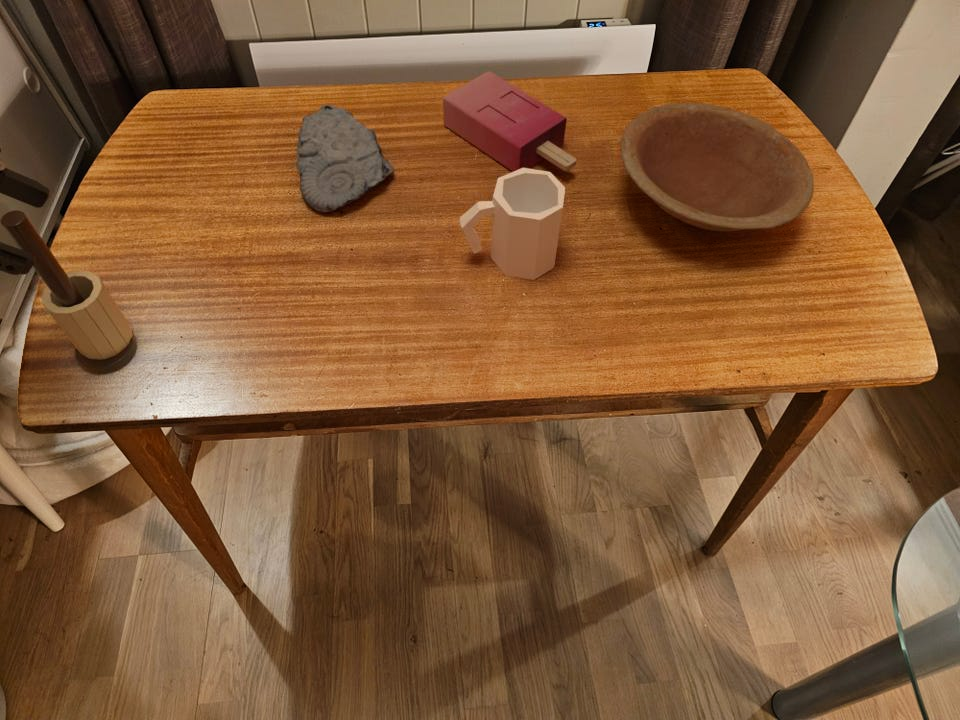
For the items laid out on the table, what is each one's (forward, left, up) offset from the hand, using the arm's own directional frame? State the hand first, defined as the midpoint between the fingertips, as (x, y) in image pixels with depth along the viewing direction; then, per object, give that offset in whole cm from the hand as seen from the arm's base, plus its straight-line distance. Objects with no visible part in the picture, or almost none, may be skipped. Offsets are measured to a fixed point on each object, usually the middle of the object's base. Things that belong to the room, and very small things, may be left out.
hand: (39, 231), depth 63 cm
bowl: (+72, -10, -18) cm, 75 cm away
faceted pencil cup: (-1, +1, -17) cm, 17 cm away
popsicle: (+56, +11, -18) cm, 60 cm away
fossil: (+33, +17, -18) cm, 41 cm away
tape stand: (-1, 0, -18) cm, 18 cm away
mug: (+45, -7, -18) cm, 49 cm away
